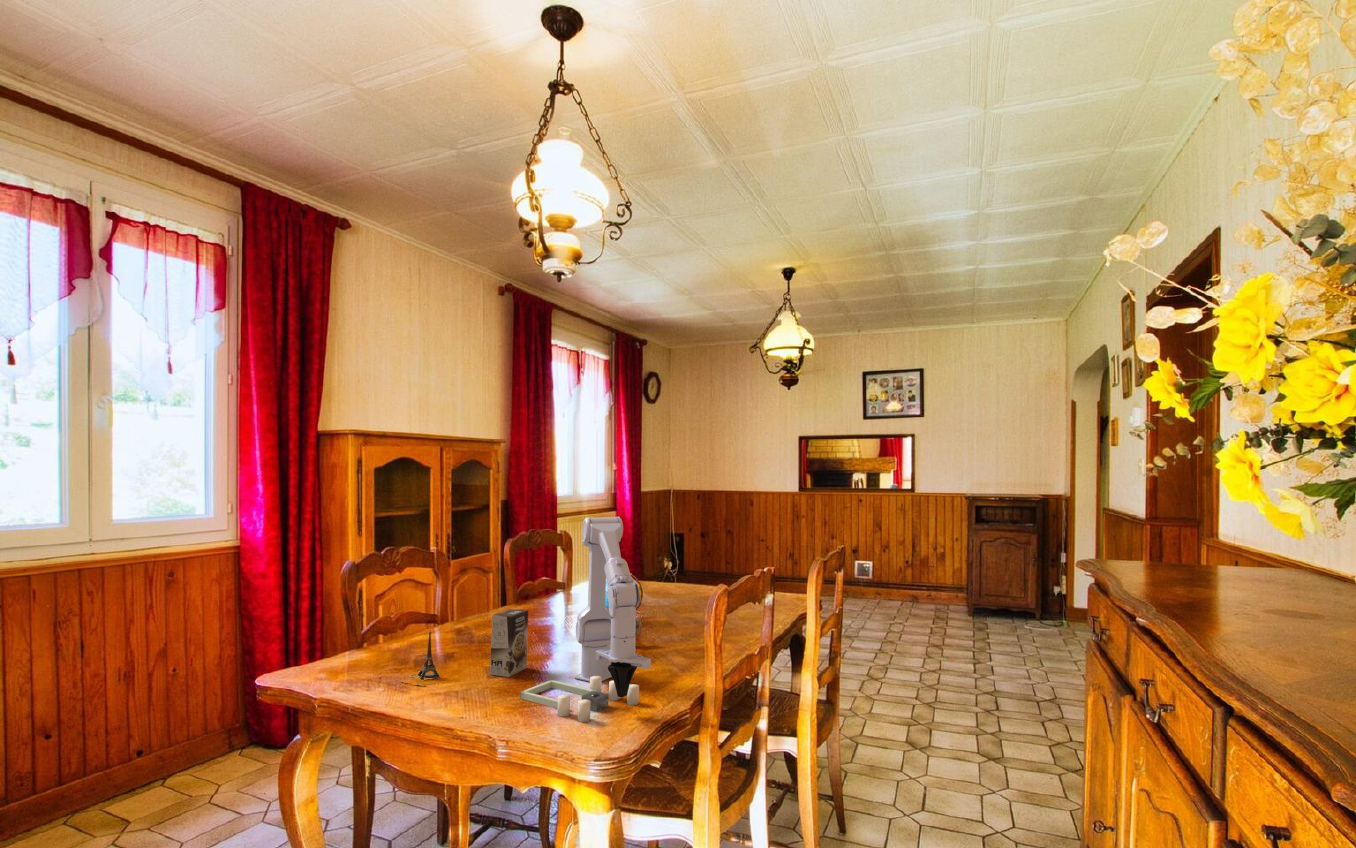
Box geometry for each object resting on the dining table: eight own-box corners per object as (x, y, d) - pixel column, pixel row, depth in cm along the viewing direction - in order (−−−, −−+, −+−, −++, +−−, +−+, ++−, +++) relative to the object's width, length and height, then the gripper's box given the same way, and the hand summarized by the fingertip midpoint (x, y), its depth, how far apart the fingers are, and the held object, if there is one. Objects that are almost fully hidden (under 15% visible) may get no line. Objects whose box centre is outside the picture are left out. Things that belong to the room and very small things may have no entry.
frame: (551, 685, 169) (551, 680, 169) (596, 697, 161) (596, 690, 162) (519, 698, 160) (520, 692, 160) (566, 711, 152) (566, 704, 152)
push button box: (592, 703, 158) (593, 690, 158) (608, 707, 155) (608, 693, 156) (581, 709, 154) (581, 696, 154) (596, 713, 152) (597, 699, 152)
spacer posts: (594, 691, 165) (595, 675, 166) (641, 702, 158) (641, 685, 158) (546, 713, 151) (547, 695, 151) (595, 726, 143) (595, 707, 143)
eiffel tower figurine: (428, 668, 185) (430, 620, 186) (460, 671, 182) (461, 622, 183) (392, 685, 170) (394, 633, 171) (425, 689, 168) (427, 636, 169)
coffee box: (509, 677, 176) (511, 616, 177) (489, 675, 178) (490, 614, 179) (528, 668, 184) (529, 609, 185) (508, 665, 186) (509, 608, 187)
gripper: (587, 634, 152) (586, 694, 151) (638, 643, 144) (637, 707, 143) (606, 628, 158) (605, 686, 157) (656, 637, 150) (655, 698, 149)
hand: (622, 695), depth 151 cm, fingers closed
